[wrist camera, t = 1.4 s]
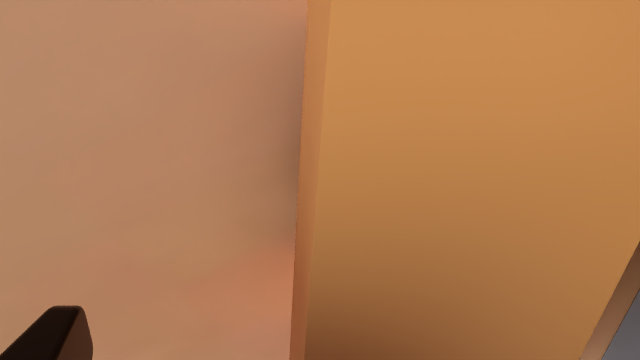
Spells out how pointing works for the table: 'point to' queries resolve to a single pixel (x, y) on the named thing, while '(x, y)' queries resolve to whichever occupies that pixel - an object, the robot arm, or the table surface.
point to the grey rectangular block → (627, 336)
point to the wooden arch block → (464, 177)
